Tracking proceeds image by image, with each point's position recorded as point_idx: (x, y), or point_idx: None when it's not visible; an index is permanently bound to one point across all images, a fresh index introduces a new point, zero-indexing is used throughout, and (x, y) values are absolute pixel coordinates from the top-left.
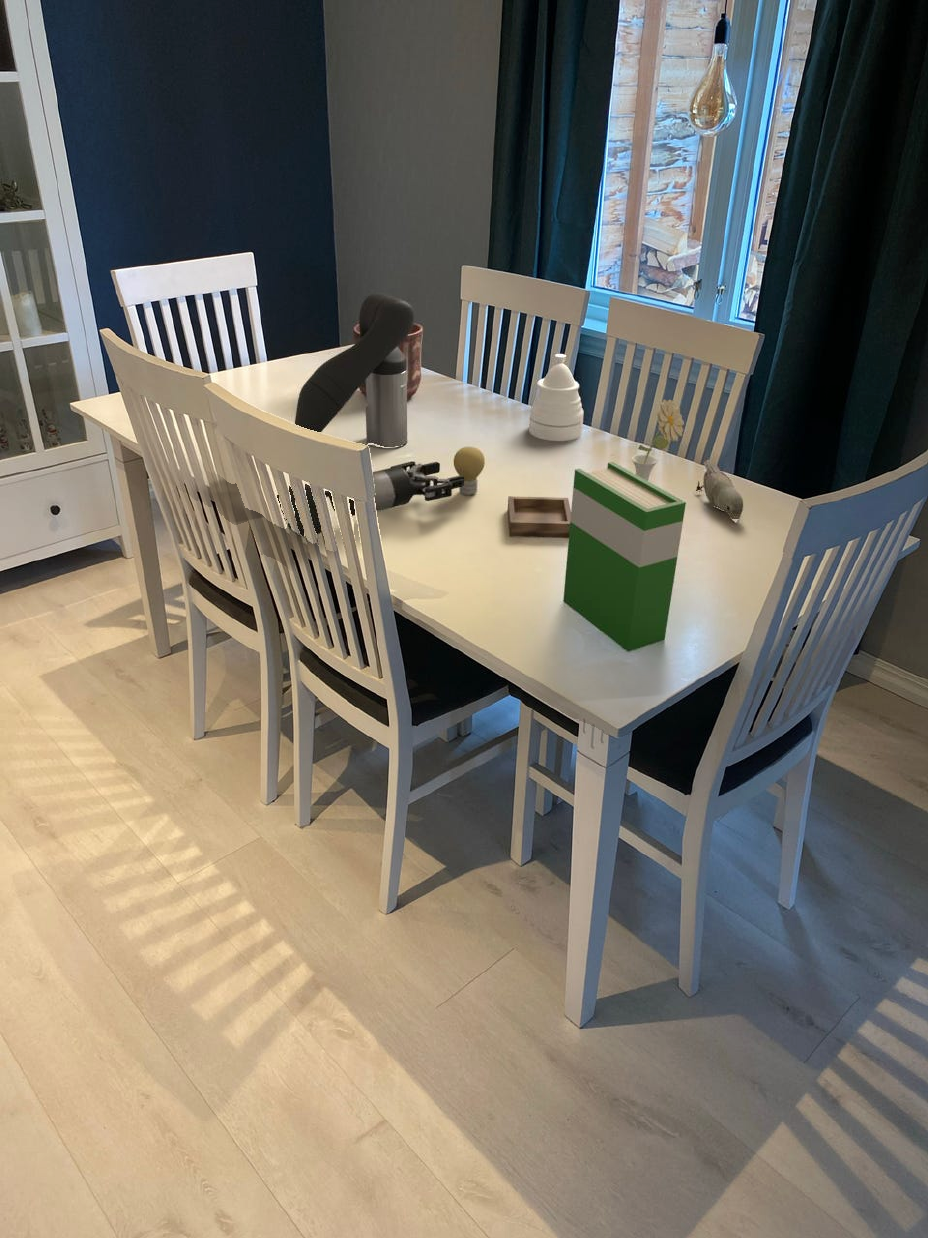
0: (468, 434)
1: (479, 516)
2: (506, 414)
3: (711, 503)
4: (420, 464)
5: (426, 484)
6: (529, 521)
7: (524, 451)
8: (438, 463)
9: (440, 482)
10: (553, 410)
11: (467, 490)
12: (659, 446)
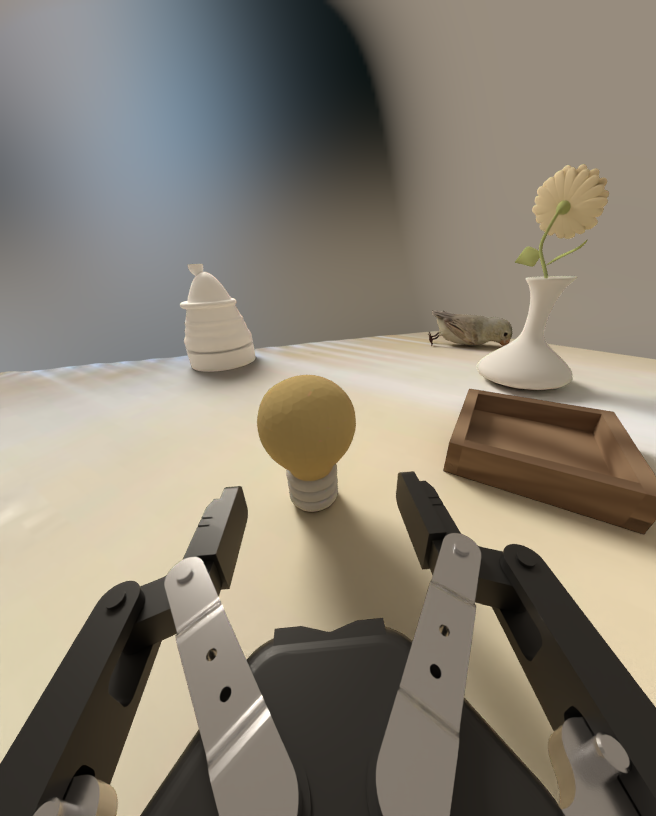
0: (119, 405)
1: (479, 541)
2: (140, 370)
3: (472, 341)
4: (191, 572)
5: (499, 736)
6: (636, 461)
7: (237, 386)
8: (239, 490)
9: (475, 594)
10: (228, 329)
11: (331, 495)
12: (534, 261)
